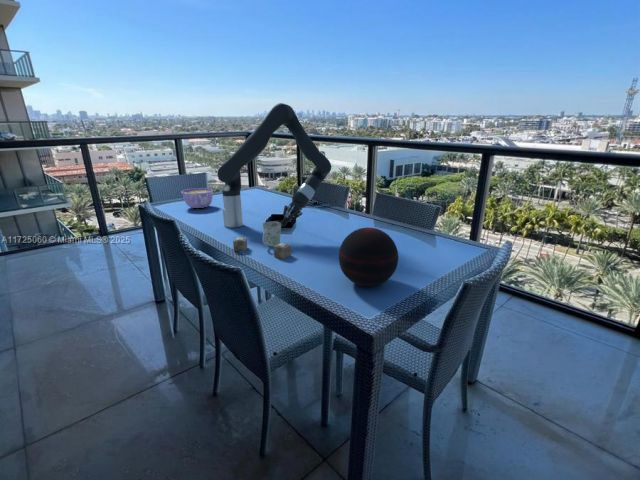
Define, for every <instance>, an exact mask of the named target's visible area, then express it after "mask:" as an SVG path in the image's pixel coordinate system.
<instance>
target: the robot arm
mask: <svg viewBox="0 0 640 480" xmlns="http://www.w3.org/2000/svg"><path fill="white" fill-rule="evenodd" d="M282 125H283V126H285V127H286V129H287V130H288V131H290V133H291V135H292V136H293V138H294V140H295V143H296V144H297V146H298V149H299V150H300V151H301V153H302V154H303V155H304V157H305V159H307V161H308V162H311V163H312V164H313V165H314V169H312V172H310V173H311V174H310V175H307V177H306V178H307V179H306V180H305V182H304V183H303V184H302V183H301V185H300V188H299V189H296V192H294V196H293V195H292V197H291V202H290V203H289V205H284V208H283V212H282V213H283V214H282V215H283V216H284V217H283V218H282V220H281V222H280V223H281V227H284V228H285V227H286V226H287V224H288V223H289V222H290V221H295V220H296V219H297V218H299V217H300V216H302V215H303V212H302V210H303V209H305V208H306V207H307V206H306V205H307V204H310V202H311V201H310V200H312V198H313V197H314V196H315V193H316V192H317V191H318V189H319V188H320V186H321V184H322V182H323V181H324V180H325V179H326V177H327V176H328V175H329V174H330V172H331V170H332V163H331V161H330V160H329V159H328V157H326V155H324V154H323V153H322V152H321V151H320V150H319V148H318V147H317V146H316V144H315V143H314V141H313V140H312V139H311V137H310V136H309V135H308V133H307V132H306V130H305V129H304V127H303V125H302V124H301V122H300V120H299V118H298V116H297V114H296V112H295V111H294V108H293V107H292V106H290V105H289V104H287V103H284V102H283V103H282V102H279V103H277V104H275V105H274V106H273V107H272V108H270V111H269V112H268V114H267V115H266V116H265V118H264V120H263V121H262V122H261V123H260V124H259V125H258V126H257V127H256V128H255V129H254V131H253V132H251V133H250V135H249V136H248V137H247V138H246V139H244V142H243V143H242V144H241V145H240V146H239V147H238V148H237V150H236V151H235V152H234V153H233V155H232V156H231V157H230V158H229V159H227V160H226V161H225V162H224V163H223V164H222V165H220V166H219V168H218V170H217V174H216V175H217V178H218V180H219V181H220V182H221V183H224V186H223V188H222V190H221V193H222V202H223V208H222V216H223V217H222V219H223V226H224V227H226V228H230V229H231V228H239V227H243V225H244V221H243V219H244V218H243V211H242V210H243V208H242V199H241V198H242V196H241V189H242V177H241V169H242V168H243V167H244V166H246V165H247V164H248V163H251V162H252V161H253V160H254V159H256V157H258V156H259V155H260V154H261V153H262V152H263V151H264V150H265V148H266V147H267V146H268V144H269V142H270V139H271V137H272V136H273V134H274V133H275V132H277V130H278V129H279V128H280V127H281V126H282Z"/></svg>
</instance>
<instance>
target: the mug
mask: <svg viewBox="0 0 640 480" xmlns="http://www.w3.org/2000/svg"><path fill="white" fill-rule="evenodd" d="M262 228H263V229H262V230H263V234H262V243H263V245H265V246H266V247H267V246H268V247H270V248H272V247H273V248H274V246H275V245H277V244H279V243H281V231H282V225H281V222H279V221H276V220H275V221H274V220H273V221H272V220H271V221H270V220H269V221H266V222H263V223H262Z"/></svg>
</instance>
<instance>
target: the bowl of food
mask: <svg viewBox="0 0 640 480" xmlns="http://www.w3.org/2000/svg"><path fill="white" fill-rule="evenodd" d="M181 194H182V197H183V200H184V202H185V204H186V205H187V207H190V208H192V209H193V208H204V207H206V208H207V207H208V206H210V205H211V204H212V203H213V197H214V189H213V188H209V187H194V188H188V189H183V190H181ZM204 209H205V208H204Z"/></svg>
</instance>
